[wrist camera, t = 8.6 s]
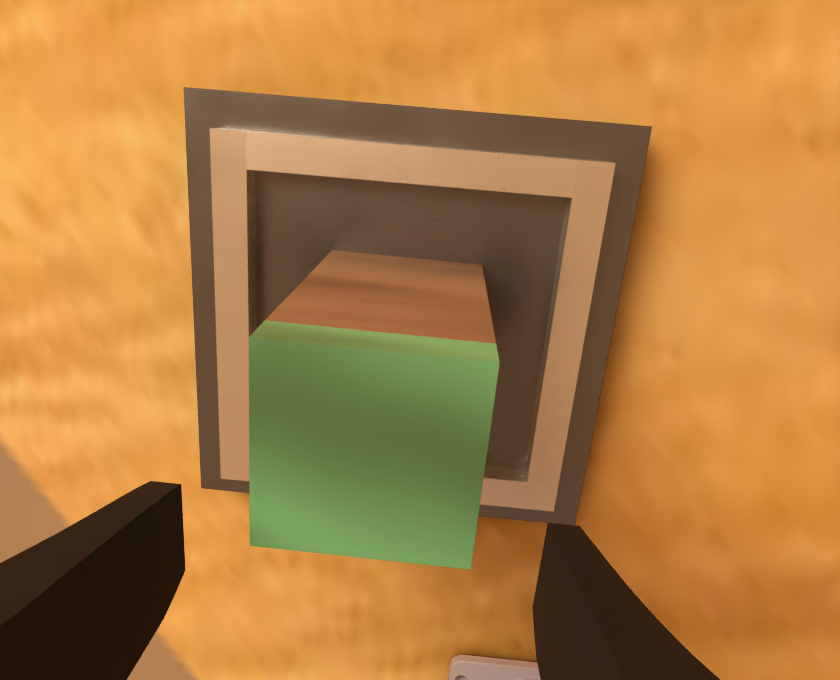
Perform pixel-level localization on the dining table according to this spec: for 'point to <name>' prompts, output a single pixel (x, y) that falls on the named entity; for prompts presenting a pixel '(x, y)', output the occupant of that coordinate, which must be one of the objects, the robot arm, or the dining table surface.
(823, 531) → the dining table surface
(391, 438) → the brown and green block
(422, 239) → the gray square tray
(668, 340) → the dining table surface
